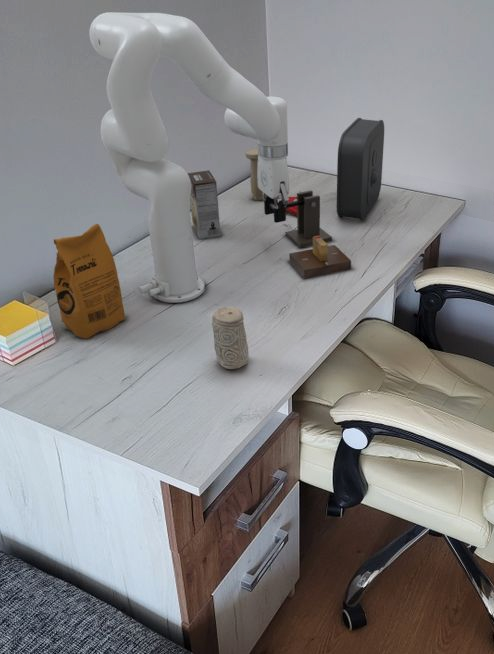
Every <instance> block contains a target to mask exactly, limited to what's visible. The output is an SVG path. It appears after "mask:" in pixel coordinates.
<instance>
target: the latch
mask: <svg viewBox="0 0 494 654" xmlns="http://www.w3.org/2000/svg"><path fill="white" fill-rule="evenodd" d="M306 197H312V195H306V196H302V200H298V201H293V202H288V203H287V204H286V208H289V207H294V206H299V205H303V206H304V198H306ZM269 206H270V207H271V208H272V209H273V210H274V208H275V205H274V204H273V203H272V202H271V203H269Z"/></svg>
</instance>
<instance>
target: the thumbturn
mask: <svg viewBox="0 0 494 654" xmlns="http://www.w3.org/2000/svg"><path fill="white" fill-rule="evenodd" d="M328 246H329V244H328V242H325V241H324V240H323V239H322V238H321V237H320V236H319V235H318V236H313V245H312V249H313V254H314V255H315V256H316V257H317V258H318V259H319V260H320V261H321V262H322V261H327V258H328Z"/></svg>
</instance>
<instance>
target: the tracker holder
mask: <svg viewBox="0 0 494 654" xmlns="http://www.w3.org/2000/svg"><path fill="white" fill-rule="evenodd" d="M300 192H302V191H300V190H299V191H298V193H300ZM288 198H289V202H293V201H297V196H288ZM286 212H289V213H290V214H293V215H295V216H297V206H294V207H289V208H286Z"/></svg>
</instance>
